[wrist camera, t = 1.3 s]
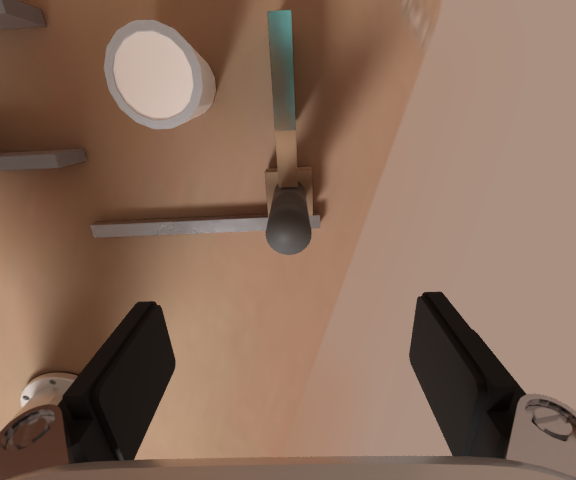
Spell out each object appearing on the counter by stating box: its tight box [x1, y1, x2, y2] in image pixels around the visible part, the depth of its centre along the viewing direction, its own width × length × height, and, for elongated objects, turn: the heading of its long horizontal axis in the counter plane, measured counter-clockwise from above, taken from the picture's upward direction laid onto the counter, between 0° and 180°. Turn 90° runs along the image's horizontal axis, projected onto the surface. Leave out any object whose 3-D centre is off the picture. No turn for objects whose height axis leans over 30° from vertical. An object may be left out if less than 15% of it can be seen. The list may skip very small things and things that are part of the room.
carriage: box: [265, 10, 313, 255], centre depth 23 cm, size 16×4×12 cm, turn 3°
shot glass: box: [104, 20, 216, 129], centre depth 24 cm, size 7×7×7 cm
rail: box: [90, 212, 320, 238], centre depth 32 cm, size 1×24×1 cm, turn 93°
